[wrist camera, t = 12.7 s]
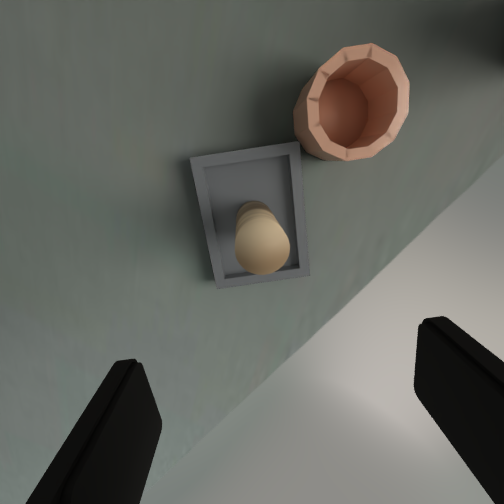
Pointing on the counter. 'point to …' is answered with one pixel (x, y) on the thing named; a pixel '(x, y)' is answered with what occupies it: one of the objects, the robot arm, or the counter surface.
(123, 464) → the robot arm
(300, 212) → the tray
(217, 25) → the counter surface
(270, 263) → the peg
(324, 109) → the cup
